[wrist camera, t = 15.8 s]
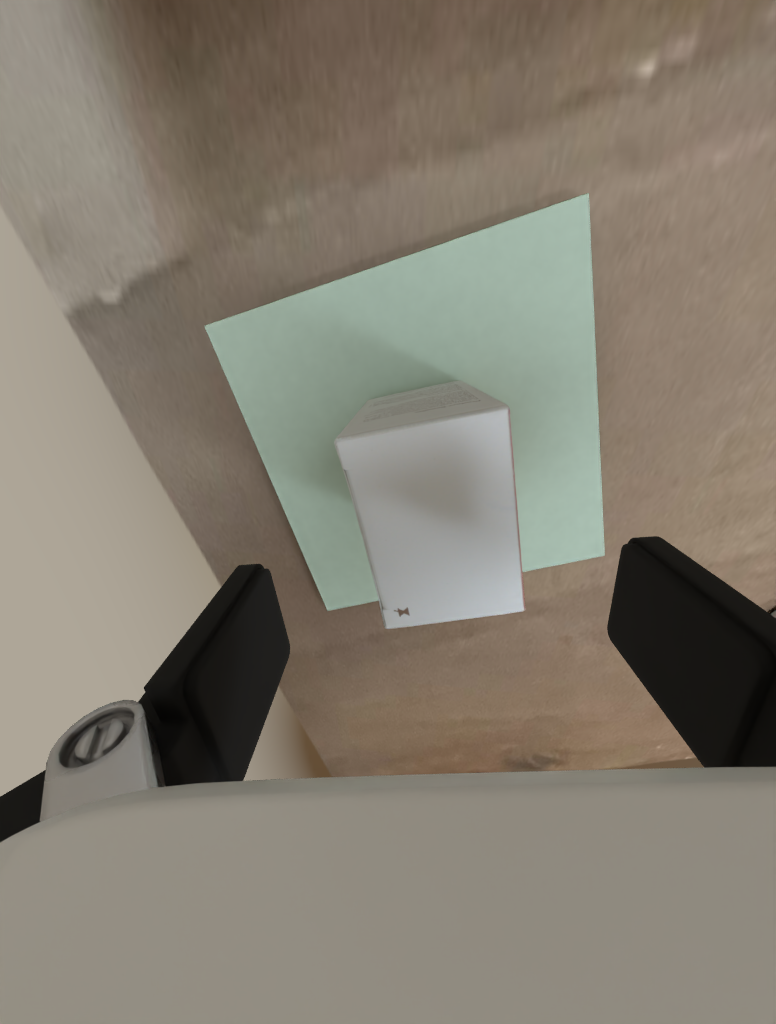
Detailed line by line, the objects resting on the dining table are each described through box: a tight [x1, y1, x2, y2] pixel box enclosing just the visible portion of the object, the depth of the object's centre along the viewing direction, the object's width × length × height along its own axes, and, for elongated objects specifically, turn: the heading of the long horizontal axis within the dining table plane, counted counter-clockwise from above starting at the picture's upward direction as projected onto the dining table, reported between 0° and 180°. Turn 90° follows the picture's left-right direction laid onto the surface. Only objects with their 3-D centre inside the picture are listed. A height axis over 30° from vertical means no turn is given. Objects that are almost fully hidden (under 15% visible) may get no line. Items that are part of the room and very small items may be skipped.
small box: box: [334, 380, 525, 629], centre depth 17 cm, size 8×6×10 cm
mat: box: [205, 193, 605, 611], centre depth 22 cm, size 20×20×1 cm
